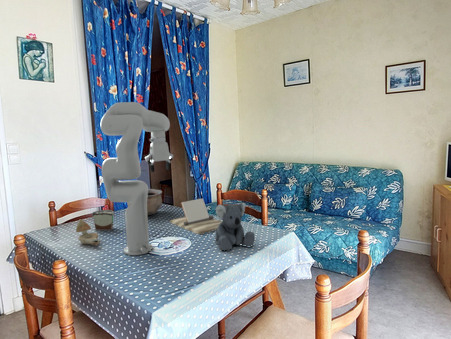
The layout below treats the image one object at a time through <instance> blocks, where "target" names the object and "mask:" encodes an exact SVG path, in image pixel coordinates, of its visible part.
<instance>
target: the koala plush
mask: <svg viewBox="0 0 451 339" xmlns="http://www.w3.org/2000/svg"><path fill="white" fill-rule="evenodd" d="M246 206H247V205H246V203H245V202H241V203H239V204H227V205H225V204H220V203H219V204H218V205H217V206H216V207H215V209H214V210H215V215H216V216H217V217H218V220H220V221H221V220H222V222H221V223H220V224H219V226H218V229H217V230H215V234H214V235H215V245H217V246H218V249H219V250H220V249H221V250H220V251H222V250H224V251H223V252H226V251H225V250H229V251H231V250H232V249H231V248H233V246H234V245H236V246H239V245H240V244H242V245H246V246H251V245H253V246H254V244H255V241H256V240H255V238H256V237H255V232H254V231H251V230H250V231H247V232H246V233H245V231H244V228H243V225H242V224H241V223H242V217H243V216H244V213H245V211H246ZM230 249H231V250H230Z"/></svg>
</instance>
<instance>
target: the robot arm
mask: <svg viewBox="0 0 451 339" xmlns="http://www.w3.org/2000/svg"><path fill="white" fill-rule="evenodd" d="M99 124H100V130H101V132H102V133H103V134H104V135H106V136H111V137H112V136H115V137H116V136H121V138H120V139H119V141H117V144H116V146H115V153H116V157H108V158H106V159H105V160H104V161H103V162H102V165H101V176H102V181H103V184H104V189H105V193H106V197H107V199H108V200H109V201H110V202H112V203H127V202H129V203H130V205H129V206H128V205H127V208H126V209H125V212H124V218H125V220H124V221H125V234H126V246H125V247H124V248H123V253H124V254H125V255H129V256H139V255H141V256H142V255H145V254H148V253H149V252H148V251H150V250H151V249H152V248H153V249H154V247H153V244H151V243H150V238H149V235H150V234H149V221H148V220H149V219H148V215H147V197H148V189H149V186H148V184H147V183H146V182H145V181H144V180H137V179H138V178H140V177H141V174H142V169H141V162H140V158H139V150H138V144H139V140H140V137H141V134H142V131H145V132H147V133H148V132H149V133H150V138H149V142H151V143H150V146H149V154H148V155H147V156H145V157H144V159H145V162H146V163H147V164H148V165H149V170H150V173H155V165H154V163H155V162H163V161H165V169H166V170H167V171H170V170H171V169H170V168H171V162H172V161H173V158H174V156H175V155H174V154H172V153H170V150H169V145H168V142H166V141H167V140H166V132H167V131H169V129H170V127H171V123H170V119H169V118H168V117H167V116H166V115H165V114H164V113H161V112H157V111H154V110H149V109H147V108H146V107H145V106H144V105H143V104H141V103H139V102H136V101H135V102H134V101H128V102H127V101H126V102H125V101H123V102H115V103H114V104H112V105H111V106H110V107H109V109H107V110H106V112H105V113H104V115H103V116H102V118H101V120H100V123H99ZM153 249H152V250H153ZM152 250H151V251H152ZM151 251H150V252H151Z"/></svg>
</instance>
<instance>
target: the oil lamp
mask: <svg viewBox="0 0 451 339" xmlns="http://www.w3.org/2000/svg"><path fill="white" fill-rule="evenodd" d="M76 224H77V225H76V231H75V232H76V233H82V234H80V235H79V236H78V241H79V242H80V243H81V244H82V245H92V246H98V245H99V243H100V242H101V241H100V239H98V238H99V235H98V232H89V233H88V231H89V230H92V227H91V226H90V224H88V223H87V222H86V221H84V220H83V219H81V218H80V219H79V220H78V222H77V223H76Z"/></svg>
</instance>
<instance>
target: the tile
mask: <svg viewBox="0 0 451 339" xmlns="http://www.w3.org/2000/svg"><path fill="white" fill-rule="evenodd" d="M180 205H181V207H182V210H183V213H184V217H186V220H187V222H188V224H192V223H196V222H200V221H204V220H208V219H210V218H209V216H210V215H209V212H208V209H207V207H206V204H205V200H204V198H198V199H192V200H186V201H182V202H181V203H180Z"/></svg>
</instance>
